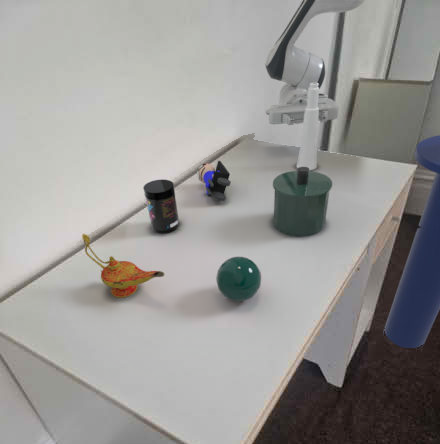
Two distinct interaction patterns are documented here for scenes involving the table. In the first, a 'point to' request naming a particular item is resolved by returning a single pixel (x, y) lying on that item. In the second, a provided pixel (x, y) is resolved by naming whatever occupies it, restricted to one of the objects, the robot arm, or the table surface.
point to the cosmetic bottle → (310, 130)
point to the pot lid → (302, 183)
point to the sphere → (238, 279)
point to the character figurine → (214, 180)
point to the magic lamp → (121, 274)
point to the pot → (300, 214)
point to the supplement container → (162, 205)
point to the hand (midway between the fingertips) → (307, 120)
